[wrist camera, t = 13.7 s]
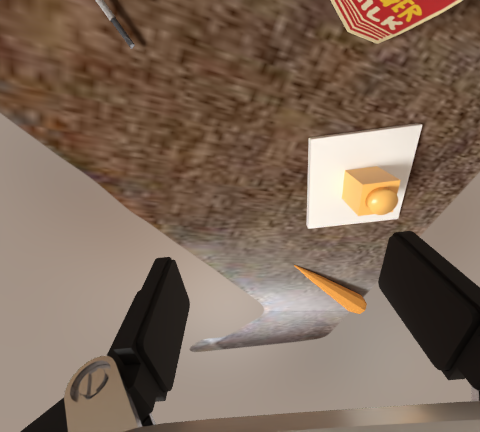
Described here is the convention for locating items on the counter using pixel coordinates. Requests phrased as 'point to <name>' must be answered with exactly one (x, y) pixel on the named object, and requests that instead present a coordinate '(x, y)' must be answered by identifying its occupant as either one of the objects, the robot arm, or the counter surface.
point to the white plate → (354, 157)
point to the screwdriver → (115, 22)
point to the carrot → (337, 292)
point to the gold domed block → (370, 191)
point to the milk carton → (387, 16)
